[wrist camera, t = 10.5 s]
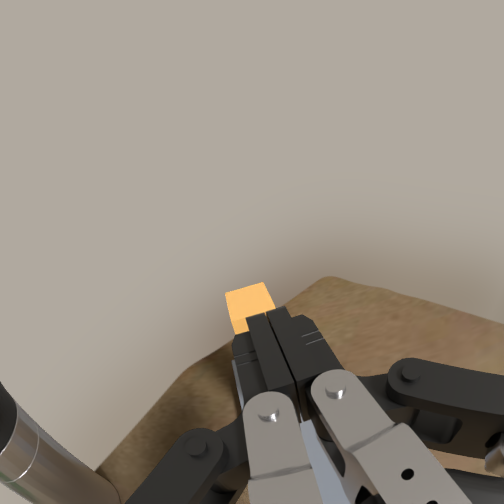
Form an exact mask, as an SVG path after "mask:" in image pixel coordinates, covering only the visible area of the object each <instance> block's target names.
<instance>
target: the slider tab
mask: <svg viewBox="0 0 504 504" xmlns="http://www.w3.org/2000/svg"><path fill="white" fill-rule="evenodd" d="M225 295H226V300H227V305H228V309H229V314H230V318H231V322H232V325H233V328H234V331H235V334H240V333H243V332H247V331H249V329H248V325H247V322H246V319H245V318H246V317H249V316H253V315H256V314H259V313H263V312H264V313H265V315H266V311H269V310H273V309H276V307H275V305H274V303H273V301H272V299H271V297H270V295H269V293H268V291H267V289H266V287H265V285H264V283H263V282H261V283H258V284H255V285H251V286H248V287H244V288H241V289H238V290H235V291H231V292H227V293H225Z"/></svg>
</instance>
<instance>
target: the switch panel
mask: <svg viewBox="0 0 504 504" xmlns="http://www.w3.org/2000/svg"><path fill="white" fill-rule="evenodd" d="M232 366H233V371H234V375H235V380H236V385H237V390H238V394H239V399H240V404H241V408H242V410H243V406H244V399H243V395H242V390H241V386H240V382H239V377H238V373H237V368H236V364H235V360H232ZM300 416H301V414H300ZM301 421H302V423H300V428H301V433H302V437H303V440H304V444H305V447H306V451H307V454H308V457H309V461H310V464H311V466H312V468H313V471H314V474H315V478H316V481H317V484H318V488H319V491H320V495H321V498H322V501H323V504H350V502H349V500H348V498H347V497H346V495H345V493H344V490H343V488H342V484H341V482H340V479H339V477H338V476H337V474H336V472H335V470H334V469H333V467H332V465H331V463H330V461H329V460H328V458H327V456H326V454H325V453H324V451H323V449H322V447H321V445H320V444H319V442H318V440H317V438H316V433H315V428H314V426H313V423H312V421H311V420H308V421H305V422H303V419H302V417H301Z"/></svg>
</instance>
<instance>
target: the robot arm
mask: <svg viewBox="0 0 504 504" xmlns="http://www.w3.org/2000/svg"><path fill="white" fill-rule="evenodd" d="M245 319H246V322H247V325H248V329H249V331H247V332H243V333H240V334H236V335H235V337H234V340H233V343H232V350H233V355H234V359H235V364H236V368H237V373H238V377H239V382H240V386H241V390H242V395H243V399H244V406H243V410H242V412H241V414H240V415H239V416H238V418H237V419H236V420H235V421H233V422H232V423H230V424H229V425H227V426H225V427H223V428H221V429H220V430H218V431H216V432H214V431H212V430H209V429H205V428H197V429H192V430H190V431H187V432H185V433H184V434H183V435H181V436H180V437H179V438H178V439H177V441H176V442H175V443H174V445H173V446H172V447H171V448H170V450H169V451H168V452H167V453H166V455H165V456H164V457H163V458H162V460H161V461H160V462H159V463H158V465H157V466H156V467H155V468H154V469H153V471H152V472H151V473H150V474H149V476H148V477H147V478H146V479H145V480H144V482H143V483H142V484H141V485H140V486H139V487H138V489H137V490H136V491H135V492H134V493H133V494H132V496H131V497H130V498H129V499H128V500H127V501H126V503H125V504H235V503H236V502H237V500H238V498H239V497H240V495H241V494H242V492H243V491H244V489H245V487H246V485H247V484H248V492H249V499H250V504H323V501H322V498H321V495H320V491H319V488H318V484H317V481H316V478H315V474H314V471H313V468H312V466H311V464H310V461H309V457H308V454H307V451H306V447H305V444H304V440H303V437H302V433H301V428H300V423H302V421H301V417H302V419H303V422H305V421H308V420H311V421H312V423H313V426H314V428H315V433H316V438H317V440H318V442H319V444H320V445H321V447H322V449H323V451H324V453H325V454H326V456H327V458H328V460H329V461H330V463H331V465H332V467H333V469H334V470H335V472H336V474H337V476H338V477H339V479H340V482H341V484H342V488H343V490H344V493H345V495H346V497H347V498H348V500H349V502H350V504H504V376H503V375H497V374H491V373H485V372H480V371H474V370H469V369H464V368H459V367H454V366H449V365H444V364H440V363H435V362H430V361H426V360H422V359H417V358H405V359H401V360H399V361H397V362H396V363H394V364H393V365H392V366H391V368H390V369H389V372H388V373H387V374H381V375H375V376H368V377H361V376H356V375H354V374H353V373H351V372H349V371H346V370H345V369H344V368H343V367H342V366H341V364H340V362H339V361H338V359H337V358H336V356H335V355H334V353H333V352H332V350H331V348H330V347H329V345H328V344H327V342H326V341H325V339H324V338H323V336H322V334H321V333H320V331H319V330H318V328H317V327H316V325H315V324H314V322H313V320H311V319H309V318H307V317H306V316H304V315H299V316H295V317H292V318H291V316H290V314H289V312H288V311H287V309H286V307H285V306H282V307H279V308H276V309H273V310H269V311H266V315H265V313H264V312H263V313H259V314H256V315H253V316H249V317H246V318H245ZM300 414H301V416H300ZM428 448H429V449H433V450H437V451H442V452H446V453H451V454H456V455H462V456H467V457H473V458H480V459H485V470H486V471H487V472H489V473H493V474H496V475H499V476H501V477H494V476H488V475H482V474H476V473H471V472H466V471H461V470H456V469H447V468H443V467H442V466H441V464H440V463H439V462H438V461H437V459H436V458H435V457H434V456H433V454H432V453H431V452H430V451H429V450H428ZM0 482H1V483H2V484H3V485H5V486H6V487H8V488H9V489H10V490H12V491H13V492H15V493H16V494H18V495H20V496H21V497H23V498H24V499H26V500H28V501H29V502H31V503H33V504H120V499H119V495H118V493H117V491H116V489H115V488H114V486H113V485H112V484H111V483H110V482H109V481H107V480H106V479H104V478H103V477H101V476H100V475H98V474H97V473H96V472H94V471H93V470H91V469H90V468H89V467H88V466H86V465H85V464H83V463H82V462H81V461H80V460H78V459H77V458H76V457H74V456H73V455H72V454H71V453H69V452H68V451H67V450H66V449H65V448H63V447H62V446H61V445H60V444H59V443H57V442H56V441H55V440H54V439H53V438H52V437H51V436H50V435H49V434H47V433H46V432H45V431H44V430H43V429H42V428H41V427H40V426H39V425H38V424H37V423H36V422H35V421H34V420H33V419H32V418H31V417H30V416H29V415H28V414H27V413H26V412H25V411H24V410H23V409H22V408H21V407H20V406H19V404H18V403H17V402H16V401H15V400H14V399H13V398H12V397H11V395H10V394H9V393H8V392H7V391H6V389H5V388H4V387H3V385H2V384H1V382H0Z"/></svg>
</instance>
